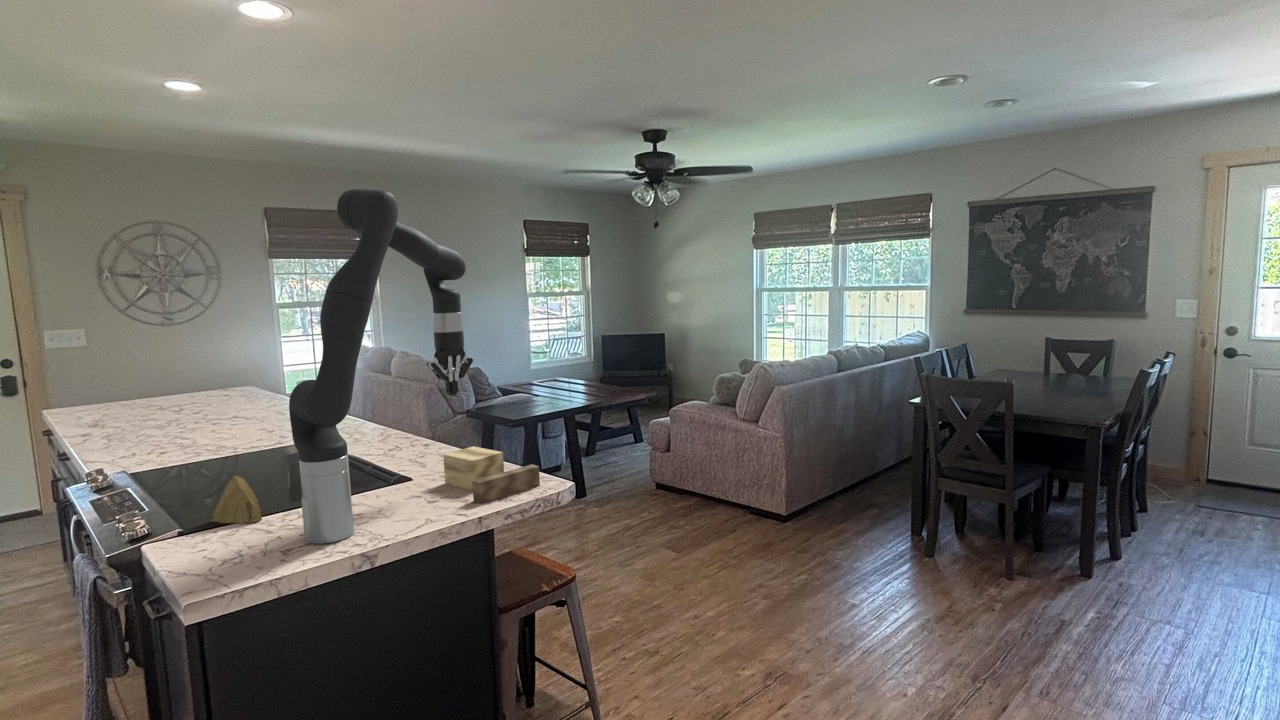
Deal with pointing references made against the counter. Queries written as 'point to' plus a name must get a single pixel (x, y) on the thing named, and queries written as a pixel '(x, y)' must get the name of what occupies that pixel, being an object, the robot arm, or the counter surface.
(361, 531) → the counter surface
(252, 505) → the rock
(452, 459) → the oak block
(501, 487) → the walnut board
